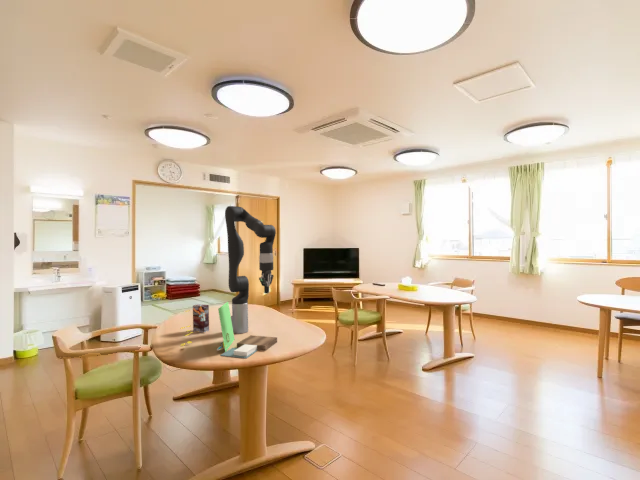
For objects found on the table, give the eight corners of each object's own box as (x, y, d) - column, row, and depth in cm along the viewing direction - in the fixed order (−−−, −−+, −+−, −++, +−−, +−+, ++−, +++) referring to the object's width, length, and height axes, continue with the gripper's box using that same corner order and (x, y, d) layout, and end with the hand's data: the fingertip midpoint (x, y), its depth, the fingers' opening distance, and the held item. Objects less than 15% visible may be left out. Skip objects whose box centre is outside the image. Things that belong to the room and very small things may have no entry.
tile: (233, 355, 158) (233, 350, 158) (244, 348, 167) (244, 344, 167) (246, 356, 156) (246, 352, 156) (257, 349, 165) (257, 345, 165)
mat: (220, 355, 158) (220, 355, 158) (232, 348, 169) (232, 347, 169) (246, 358, 154) (246, 357, 154) (257, 350, 164) (257, 349, 164)
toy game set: (190, 347, 182) (182, 304, 182) (235, 339, 183) (228, 296, 183) (174, 361, 160) (166, 312, 160) (226, 352, 162) (218, 303, 162)
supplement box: (192, 331, 200) (192, 305, 200) (198, 329, 205) (197, 303, 204) (204, 333, 197) (203, 306, 197) (209, 330, 201) (209, 304, 201)
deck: (237, 348, 169) (236, 343, 169) (250, 339, 182) (250, 335, 182) (265, 350, 164) (265, 345, 164) (277, 342, 177) (277, 337, 177)
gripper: (265, 260, 187) (266, 290, 187) (254, 262, 175) (254, 295, 175) (277, 260, 185) (278, 291, 185) (266, 262, 172) (267, 295, 173)
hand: (266, 293), depth 180 cm, fingers closed
